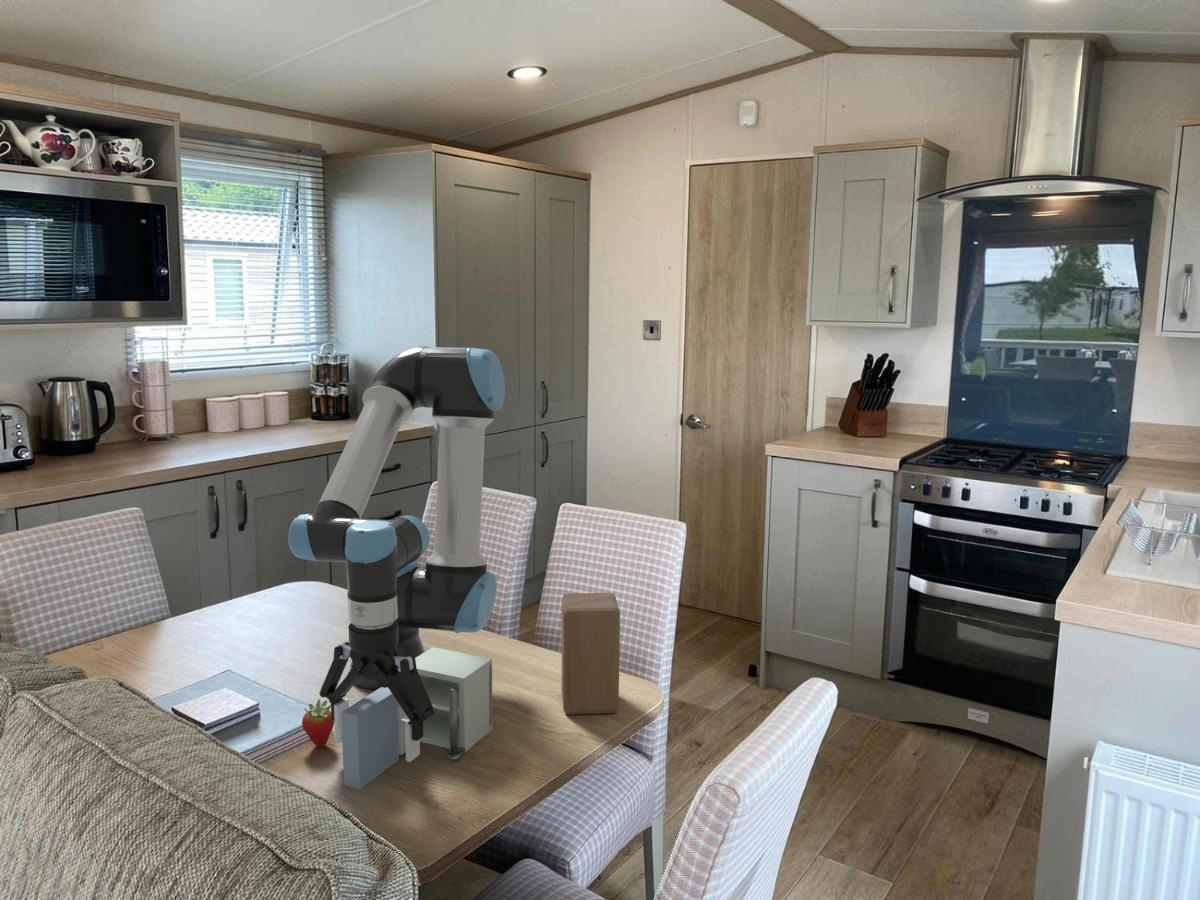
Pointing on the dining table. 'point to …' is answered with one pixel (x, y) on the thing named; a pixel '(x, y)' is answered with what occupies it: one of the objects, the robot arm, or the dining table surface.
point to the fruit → (318, 723)
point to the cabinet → (473, 696)
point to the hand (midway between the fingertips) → (377, 748)
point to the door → (371, 737)
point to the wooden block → (590, 653)
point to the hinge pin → (454, 729)
